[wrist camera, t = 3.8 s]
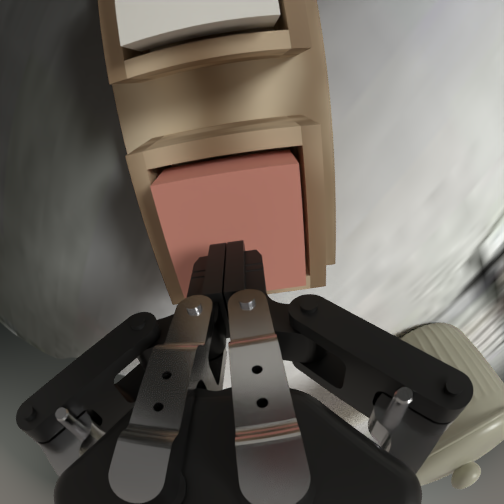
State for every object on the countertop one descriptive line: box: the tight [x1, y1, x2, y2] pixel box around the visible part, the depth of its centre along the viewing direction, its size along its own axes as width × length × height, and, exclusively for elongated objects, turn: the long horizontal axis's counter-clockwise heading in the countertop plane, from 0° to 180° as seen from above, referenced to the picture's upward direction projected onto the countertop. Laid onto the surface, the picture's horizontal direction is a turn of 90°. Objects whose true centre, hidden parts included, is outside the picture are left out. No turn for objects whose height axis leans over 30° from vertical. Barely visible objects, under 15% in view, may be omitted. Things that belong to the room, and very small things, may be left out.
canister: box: [399, 323, 504, 489], centre depth 26 cm, size 18×18×21 cm
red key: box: [150, 150, 306, 298], centre depth 16 cm, size 7×7×3 cm
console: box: [98, 0, 336, 305], centre depth 16 cm, size 14×28×7 cm, turn 8°
